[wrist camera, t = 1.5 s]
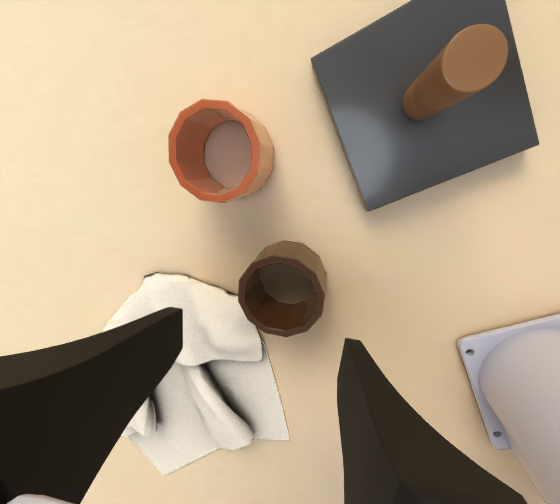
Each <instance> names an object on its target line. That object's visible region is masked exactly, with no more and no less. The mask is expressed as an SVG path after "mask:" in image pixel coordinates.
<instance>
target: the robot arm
mask: <svg viewBox="0 0 560 504" xmlns="http://www.w3.org/2000/svg"><path fill="white" fill-rule="evenodd" d="M458 348H459V351H460V354H461V356H462V359H463V362H464V365H465V368H466V371H467V374H468V377H469V380H470V383H471V386H472V389H473V392H474V395H475V398H476V401H477V403H478V406H479V409H480V412H481V415H482V418H483V421H484V424H485V427H486V430H487V433H488V436H489V439H490V442H491V443H492V445H493V447H494V448H496V449H499V450H504V449H512V451H513V452H514V454H515V455H516V457H517V458H518V460H519V462H520V463H521V465H522V466H523V468H524V469H525V471H526V473H527V474H528V476H529V477H530V479H531V480H532V482H533V483H534V485H535V487H536V488H537V490H538V491H539V493H540V494H541V496H542V498H543V499H544V501H545V502H546V504H560V314H555V315H551V316H547V317H543V318H539V319H535V320H531V321H527V322H523V323H519V324H515V325H511V326H506V327H502V328H498V329H494V330H490V331H486V332H482V333H478V334H474V335H470V336H466V337H462V338H460V339H459V340H458ZM182 349H183V309H181V308H175V307H167V308H164V309H161V310H159V311H156V312H154V313H151V314H149V315H146V316H144V317H141V318H139V319H136V320H134V321H131V322H129V323H126V324H124V325H121V326H118V327H116V328H113V329H110V330H107V331H105V332H102V333H99V334H96V335H93V336H90V337H87V338H83V339H80V340H76V341H73V342H69V343H66V344H61V345H57V346H53V347H48V348H44V349H40V350H35V351H30V352H25V353H19V354H13V355H7V356H1V357H0V504H80V503H81V501H82V499H83V498H84V496H85V494H86V492H87V491H88V489H89V487H90V485H91V484H92V482H93V480H94V478H95V477H96V475H97V473H98V472H99V470H100V468H101V467H102V465H103V463H104V462H105V460H106V458H107V457H108V455H109V454H110V452H111V450H112V449H113V447H114V445H115V444H116V442H117V441H118V439H119V438H120V436H121V435H122V433H123V431H124V430H125V428H126V427H127V425H128V424H129V422H130V421H131V419H132V418H133V417H134V415H135V414H136V412H137V411H138V410H139V409H140V407H141V406H142V405H143V403H144V402H145V401H146V400H147V398H148V397H149V396H150V395H151V393H152V392H153V391H154V389H155V388H156V387H157V386H158V384H159V383H160V382H161V381H162V379H163V378H164V377H165V375H166V374H167V373H168V371H169V370H170V369H171V367H172V366H173V364H174V362H175V361H176V359H177V357H178V356H179V354H180V352H181V350H182ZM468 349H472V350H471V351H470V352H466V351H467V350H468ZM337 406H338V416H339V425H340V435H341V444H342V454H343V466H344V504H527V502H526V501H525V499H524V498H523V496H522V495H520V494H519V493H518V492H516V491H515V490H513V489H512V488H510V487H509V486H507V485H506V484H505V483H503V482H502V481H500V480H499V479H497V478H496V477H495V476H493V475H492V474H490V473H489V472H487V471H486V470H484V469H483V468H482V467H480V466H479V465H478V464H476V463H475V462H474V461H472V460H471V459H470V458H469V457H467V456H466V455H465V454H463V453H462V452H461V451H460V450H458V449H457V448H456V447H455V446H453V445H452V444H451V443H450V442H449V441H447V440H446V439H445V438H444V437H443V436H442V435H440V434H439V433H438V432H437V431H436V430H435V429H434V428H433V427H432V426H430V425H429V424H428V423H427V422H426V421H425V420H424V419H423V418H422V417H421V416H420V415H419V414H418V413H417V412H416V411H415V410H414V409H413V408H412V407H411V406H410V405H409V404H408V403H407V402H406V401H405V400H404V398H403V397H402V396H401V395H400V394H399V393H398V392H397V390H396V389H395V388H394V387H393V386H392V384H391V383H390V382H389V381H388V379H387V378H386V377H385V375H384V374H383V373H382V371H381V370H380V369H379V367H378V366H377V364H376V363H375V362H374V360H373V359H372V357H371V356H370V354H369V353H368V351H367V350H366V348H365V347H364V345H363V344H362V342H361V341H360V340H355V339H349V338H345V342H344V347H343V352H342V357H341V363H340V368H339V373H338V378H337ZM495 431H497V432H495Z"/></svg>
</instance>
